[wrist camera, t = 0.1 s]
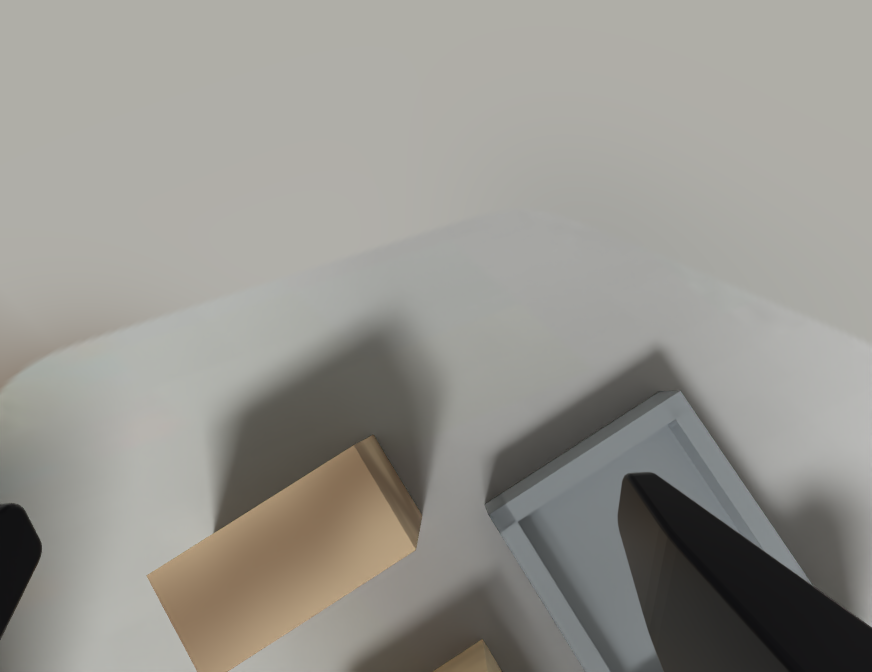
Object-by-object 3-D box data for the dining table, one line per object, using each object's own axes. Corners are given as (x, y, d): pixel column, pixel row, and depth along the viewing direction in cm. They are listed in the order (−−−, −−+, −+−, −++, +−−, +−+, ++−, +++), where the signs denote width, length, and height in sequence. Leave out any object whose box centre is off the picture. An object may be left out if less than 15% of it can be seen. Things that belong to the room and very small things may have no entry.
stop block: (422, 515, 22) (415, 549, 17) (259, 620, 22) (205, 686, 17) (373, 434, 23) (353, 445, 18) (212, 535, 22) (146, 575, 17)
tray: (799, 597, 22) (835, 618, 20) (617, 721, 21) (636, 754, 19) (659, 391, 23) (680, 390, 21) (484, 504, 22) (488, 514, 20)
